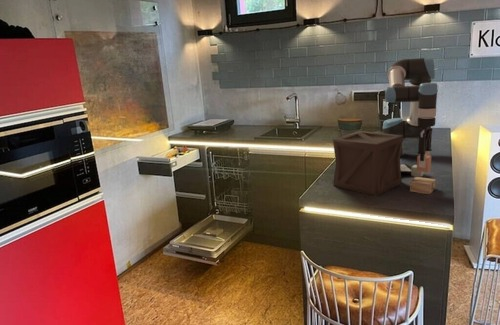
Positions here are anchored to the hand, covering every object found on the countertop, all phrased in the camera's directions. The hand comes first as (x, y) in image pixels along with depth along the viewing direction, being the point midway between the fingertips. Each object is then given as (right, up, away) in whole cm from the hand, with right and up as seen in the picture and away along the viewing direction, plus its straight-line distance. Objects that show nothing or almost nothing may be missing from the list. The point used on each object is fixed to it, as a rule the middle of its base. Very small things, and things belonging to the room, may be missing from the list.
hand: (423, 165), depth 181 cm
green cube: (+8, -5, +25) cm, 27 cm away
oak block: (+1, -12, +3) cm, 13 cm away
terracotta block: (0, -2, +1) cm, 2 cm away
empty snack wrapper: (-6, -3, +38) cm, 39 cm away
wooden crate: (-22, -10, +17) cm, 29 cm away
